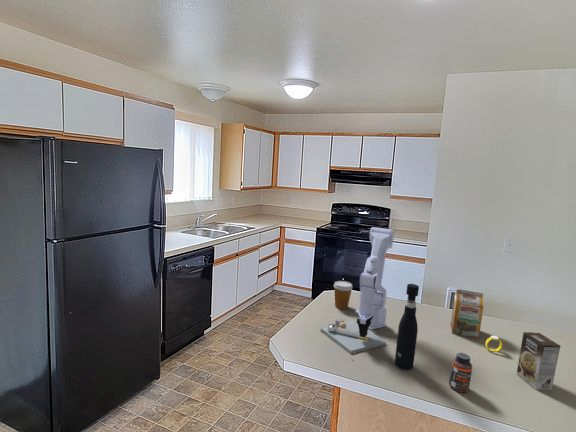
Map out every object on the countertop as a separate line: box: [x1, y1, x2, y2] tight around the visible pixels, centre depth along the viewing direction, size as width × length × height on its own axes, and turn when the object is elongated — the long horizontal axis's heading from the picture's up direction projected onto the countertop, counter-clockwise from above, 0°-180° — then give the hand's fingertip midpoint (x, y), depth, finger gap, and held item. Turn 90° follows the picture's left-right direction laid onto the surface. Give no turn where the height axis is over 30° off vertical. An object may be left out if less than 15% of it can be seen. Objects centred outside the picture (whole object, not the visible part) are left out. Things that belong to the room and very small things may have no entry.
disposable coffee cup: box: [333, 280, 353, 310], centre depth 176 cm, size 10×10×12 cm
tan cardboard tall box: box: [450, 288, 484, 340], centre depth 156 cm, size 11×11×19 cm
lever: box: [327, 323, 369, 339], centre depth 145 cm, size 16×4×5 cm, turn 69°
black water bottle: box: [394, 283, 420, 371], centre depth 124 cm, size 6×6×30 cm
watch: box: [484, 335, 503, 353], centre depth 141 cm, size 6×3×6 cm, turn 86°
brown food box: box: [516, 331, 561, 391], centre depth 120 cm, size 9×6×16 cm
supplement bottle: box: [448, 352, 473, 393], centre depth 114 cm, size 6×6×11 cm
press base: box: [320, 318, 387, 355], centre depth 145 cm, size 18×20×4 cm
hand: (363, 333), depth 142 cm, fingers open, 5 cm apart
